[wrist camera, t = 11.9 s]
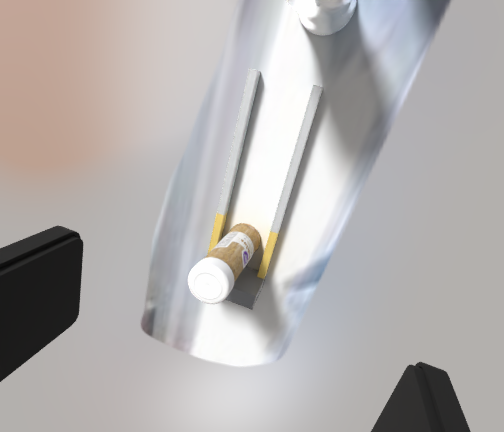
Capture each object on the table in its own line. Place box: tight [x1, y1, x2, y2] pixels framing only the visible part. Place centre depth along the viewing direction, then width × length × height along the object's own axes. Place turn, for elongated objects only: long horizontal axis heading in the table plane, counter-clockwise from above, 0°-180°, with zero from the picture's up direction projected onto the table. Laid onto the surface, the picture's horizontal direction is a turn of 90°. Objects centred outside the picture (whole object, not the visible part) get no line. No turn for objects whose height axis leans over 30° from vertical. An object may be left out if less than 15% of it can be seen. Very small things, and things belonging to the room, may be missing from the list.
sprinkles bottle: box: [188, 223, 260, 304], centre depth 39 cm, size 5×5×13 cm
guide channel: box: [208, 68, 323, 309], centre depth 40 cm, size 27×8×6 cm, turn 165°
